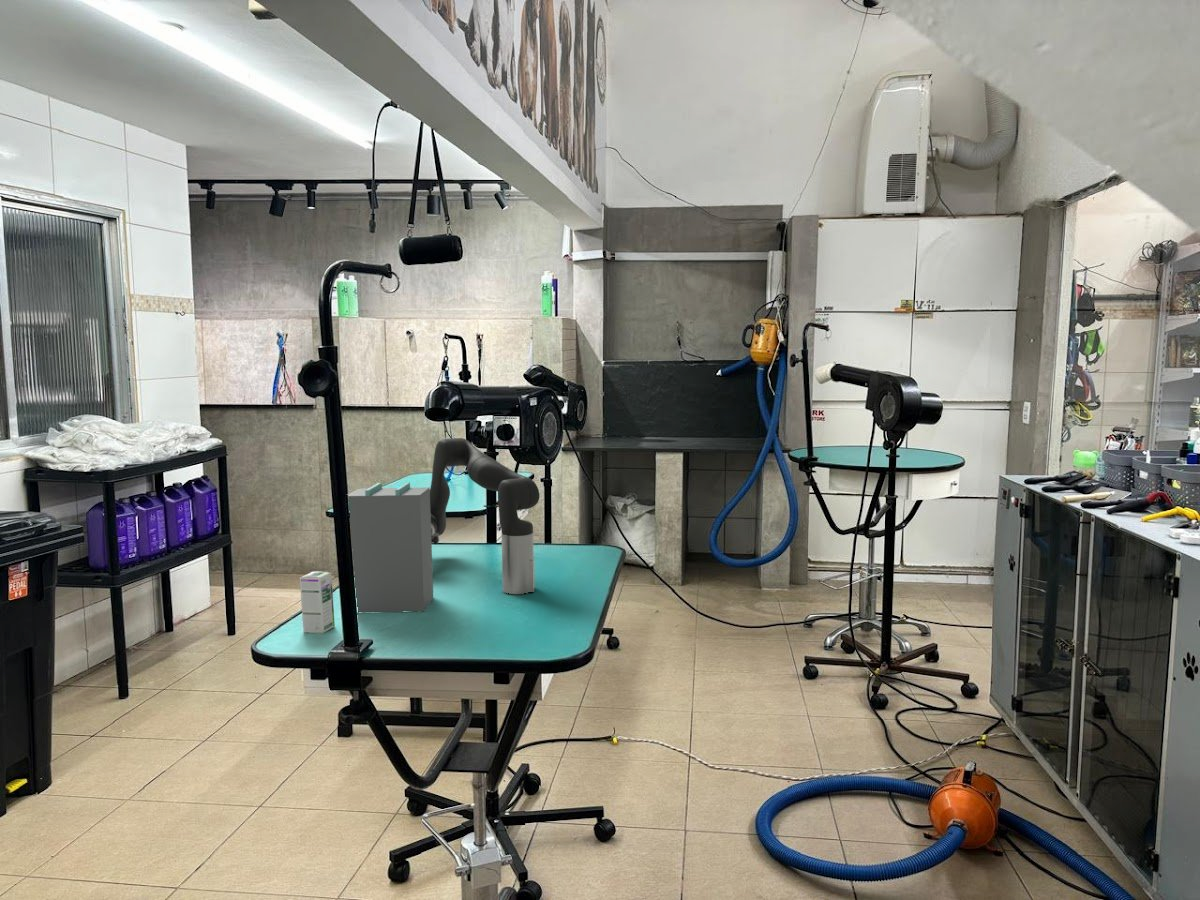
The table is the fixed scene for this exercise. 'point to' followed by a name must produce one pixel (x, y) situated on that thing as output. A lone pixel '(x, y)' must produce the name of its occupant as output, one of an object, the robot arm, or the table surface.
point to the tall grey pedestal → (391, 548)
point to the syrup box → (317, 602)
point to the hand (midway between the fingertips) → (411, 543)
